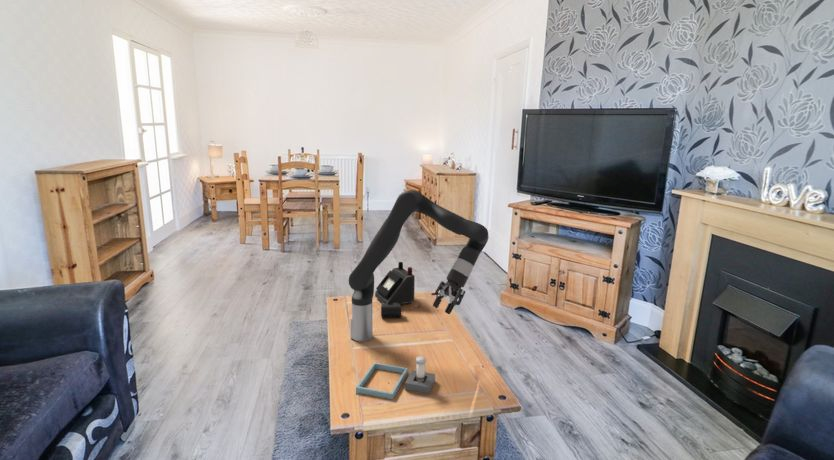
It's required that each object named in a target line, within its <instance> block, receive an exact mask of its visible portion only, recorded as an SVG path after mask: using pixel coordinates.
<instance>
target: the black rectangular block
mask: <svg viewBox="0 0 834 460" xmlns="http://www.w3.org/2000/svg"><path fill="white" fill-rule="evenodd" d="M401 316H402V304H399V303H393V305H388V303H382V302H381V305H380V318H382V319H389V318H393V319H394V318H400V317H401Z"/></svg>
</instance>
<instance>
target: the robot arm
mask: <svg viewBox="0 0 834 460" xmlns="http://www.w3.org/2000/svg"><path fill="white" fill-rule="evenodd" d="M413 213H419V214H423V215H425V216H427V217H429V218H431V220H432V219H433V221H435V222H436V223H437V224H439V225H440V226H441V227H443V228H445V229H446V230H448V231H449V232H452V233H454V234H456V235H458V236H463V237H466V238H468V241H467V243H466V245H464V246H463V248H462V249H461V251H460V253H459V254H458V255H457V258H456V260H455V261H454V263H453V265H452V267H451V268H450V271H449V272H448V274H447V276H446V280H447V281H446V282H445V281H443V280H442V281H440V282H439V285H438V286H437V288H436V290H435V292H434V295H435V297H436V298H435V299H434V301H433V303H432V307H434V308H435V309H438V308H439V307H440V305H441V302H442V300H443V299H444V298H447V297H448V299H449V302H448V303H447V305H446V308H445V309H444V313H445V314H447V315H451V313H452V312H453V310H454V307H455V306H461V302H462V301H463V298H464V297H465V294H466V291H465V290H464V289H463V288H464V287H465V286H466V283H467V281H468V280H469V278H470V276H471V274H472V271H473V270H474V269H473V268H474V266H475V264H476V262H478V261H477V260H478V258H479V256H480V255H481V253H482V251H483V250H484V248H485V247H486V245H487V243H488V240H489V230H488V228H487V227H486V226H484V225H483V224H481V223H478V222H476V221H473V220H471V219H470V220H469V219H466V218H465V217H463V216H462V215H459V214H457V213H455V212H453V211H450V210H449V209H447V208H444V207H442V206H441V205H439V204H437V203H436V202H435V201H433V200H431V199H429V198H428V197H426V195H424V194H423V193H421V192H420V191H418V190H416V189H415V190H414V189H409V190H405V191H403V192H401V193H400V194H399V195H398V197H397V198H396V200H395V202H394V204H393V206H392V208H391V211H390V213H389V214H388V216H387V218H386V219H384V221H383V223H382V225H381V226H380V228H379V230H378V231H377V232H376V233H375V235H374V237H373V238H372V240H371V242H370V244H369V246H368V248H367V249H366V251H365V253H364V255H363V257H362V258H361V260H360V261H359V262H358V264H357V265H356V267H354V269H353V270H352V271H351V273H350V274H349V277H348V285H349V287H350V289H352V290H353V293H352V296H351V318H350V321H349V322H350V323H349V324H350V325H349V326H350V327H349V328H350V339H353V340H354V341H356V342H361V343H362V342H363V343H364V342H367V341H368V342H369V341H371V340H372V339H373V334H374V333H373V320H374V319H373V298H374V296H375V273H374V272H375V271H376V269H377V268H378V267H379V266H380V265H381V264H382V263H383V262H384V260H386V258H387V257H388V256H389V255H390V254H391V251H392V250H393V249H394V248H395V246H396V244H397V242H398V241H399V238H400V234H401V233H402V232H401V231H402V228H403V226H404V224H405V223H406V221H407V220H408V219H409V217H411V215H412V214H413Z"/></svg>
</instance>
